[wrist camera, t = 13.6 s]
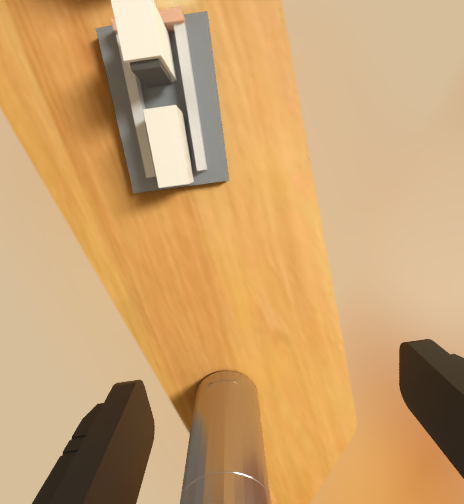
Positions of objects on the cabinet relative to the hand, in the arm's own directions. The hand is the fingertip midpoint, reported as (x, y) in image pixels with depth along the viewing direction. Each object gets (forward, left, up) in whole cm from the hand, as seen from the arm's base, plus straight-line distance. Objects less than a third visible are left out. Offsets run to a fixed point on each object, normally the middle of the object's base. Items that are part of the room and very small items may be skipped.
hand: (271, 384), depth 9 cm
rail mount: (+13, +6, -27) cm, 31 cm away
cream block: (+6, +6, -23) cm, 24 cm away
